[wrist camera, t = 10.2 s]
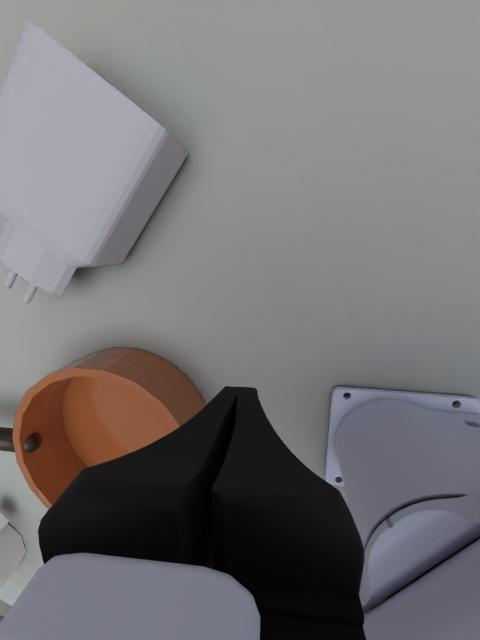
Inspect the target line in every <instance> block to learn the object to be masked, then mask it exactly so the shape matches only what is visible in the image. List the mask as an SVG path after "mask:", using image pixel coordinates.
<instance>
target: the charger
mask: <svg viewBox="0 0 480 640" xmlns="http://www.w3.org/2000/svg"><path fill="white" fill-rule="evenodd" d="M187 155H188V152H187V151H186V150H185V149H184V148H183V147H182V146H181V145H180V144H179V143H178V142H177V141H176V140H175V138H174V137H173V136H172V135H171V134H170V133H169V132H168V131H167V130H166V129H164V128H163V127H162V126H161V125H160V124H159V123H157V122H156V121H155V120H154V119H153V118H152V117H150V116H149V115H148V114H147V113H145V112H144V111H143V110H142V109H141V108H139V107H138V106H137V105H136V104H134V103H133V102H132V101H131V100H129V99H128V98H127V97H125V96H124V95H123V94H122V93H120V92H119V91H118V90H117V89H115V88H114V87H113V86H112V85H110V84H109V83H108V82H107V81H105V80H104V79H103V78H102V77H100V76H99V75H98V74H97V73H95V72H94V71H93V70H92V69H90V68H89V67H88V66H86V65H85V64H84V63H83V62H81V61H80V60H79V59H78V58H76V57H75V56H74V55H73V54H71V53H70V52H69V51H68V50H66V49H65V48H64V47H63V46H61V45H60V44H59V43H58V42H56V41H55V40H54V39H53V38H51V37H50V36H49V35H47V34H46V33H45V32H44V31H42V30H41V29H40V28H39V27H37V26H36V25H35V24H33V23H32V22H31V21H29V20H28V19H27V22H26V25H25V27H24V30H23V33H22V35H21V38H20V40H19V43H18V46H17V48H16V51H15V54H14V56H13V59H12V61H11V64H10V67H9V69H8V72H7V75H6V77H5V80H4V82H3V85H2V88H1V90H0V213H1V214H2V215H3V216H4V217H6V218H7V221H6V224H5V226H4V228H3V230H2V233H1V235H0V261H2V262H3V263H4V264H5V265H7V266H8V267H9V268H11V269H10V271H9V273H8V275H7V277H6V279H5V282H4V284H3V286H4V287H5V288H8V289H9V288H11V287H12V285H13V283H14V281H15V279H16V277H17V274H18V275H19V276H21V277H22V278H23V279H25V280H26V281H27V282H28V283H30V285H29V287H28V289H27V291H26V293H25V295H24V297H23V299H22V300H23V302H24V303H30V301H31V299H32V297H33V295H34V294H35V292H36V290H37V288H38V287H39V288H41V289H43V290H45V291H47V292H50V293H52V294H55V295H59V296H61V295H62V293H63V292H64V290H65V288H66V286H67V284H68V282H69V281H70V279H71V277H72V275H73V273H74V272H75V270H76V268H79V267H96V266H108V265H115V264H122V263H123V261H124V260H125V258H126V256H127V255H128V253H129V251H130V250H131V248H132V246H133V245H134V243H135V241H136V240H137V238H138V236H139V235H140V233H141V231H142V230H143V228H144V226H145V225H146V223H147V221H148V220H149V218H150V216H151V215H152V213H153V211H154V210H155V208H156V206H157V205H158V203H159V201H160V200H161V198H162V196H163V195H164V193H165V191H166V190H167V188H168V186H169V185H170V183H171V181H172V180H173V178H174V176H175V175H176V173H177V171H178V170H179V168H180V166H181V165H182V163H183V162H184V160H185V158H186V157H187Z"/></svg>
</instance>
